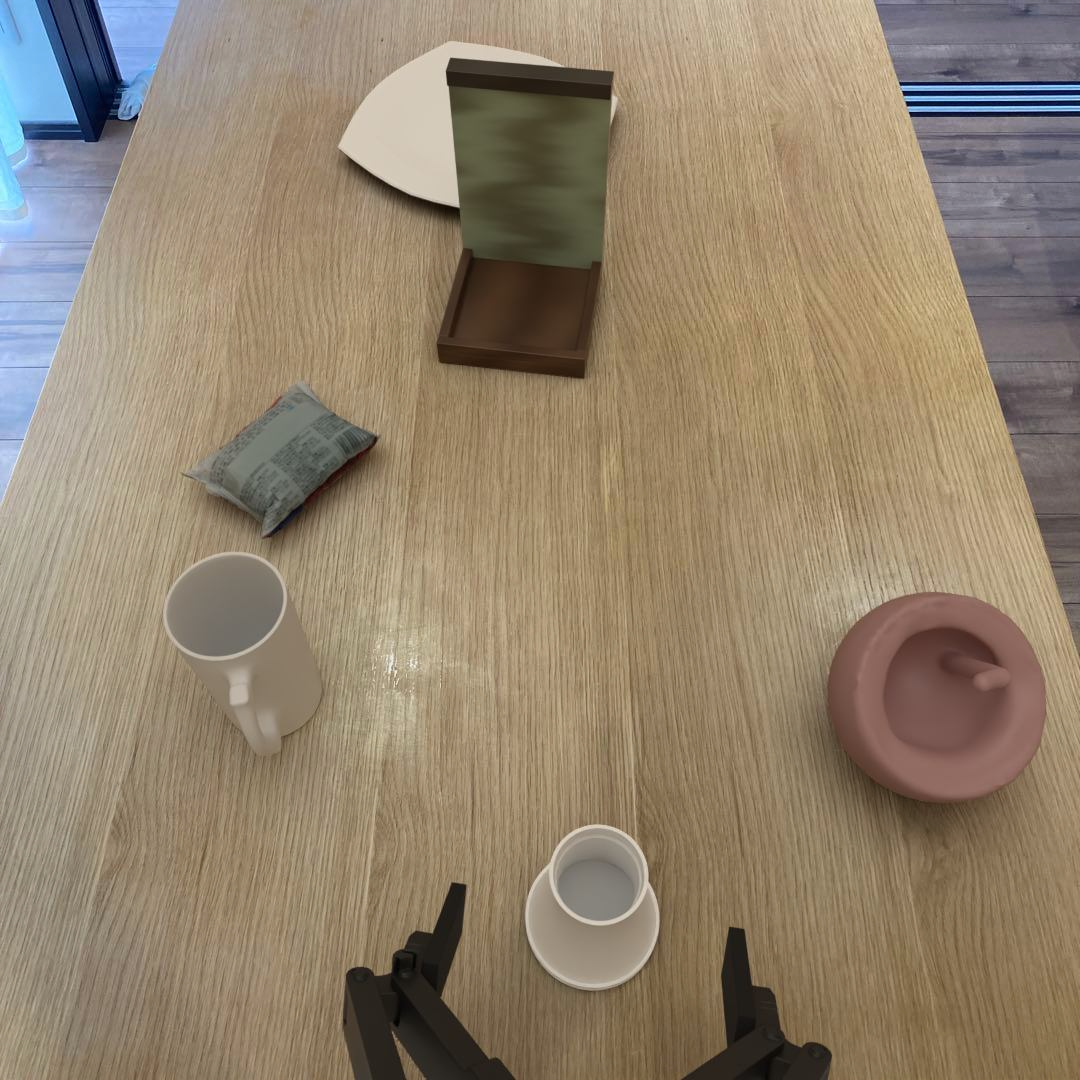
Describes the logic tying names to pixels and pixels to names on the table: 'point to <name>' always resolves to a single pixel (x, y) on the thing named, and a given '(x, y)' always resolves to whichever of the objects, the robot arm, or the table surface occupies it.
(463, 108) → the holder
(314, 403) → the packaged food
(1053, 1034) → the table surface
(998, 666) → the mortar and pestle
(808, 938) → the table surface
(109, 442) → the table surface
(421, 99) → the plate
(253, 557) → the mug
